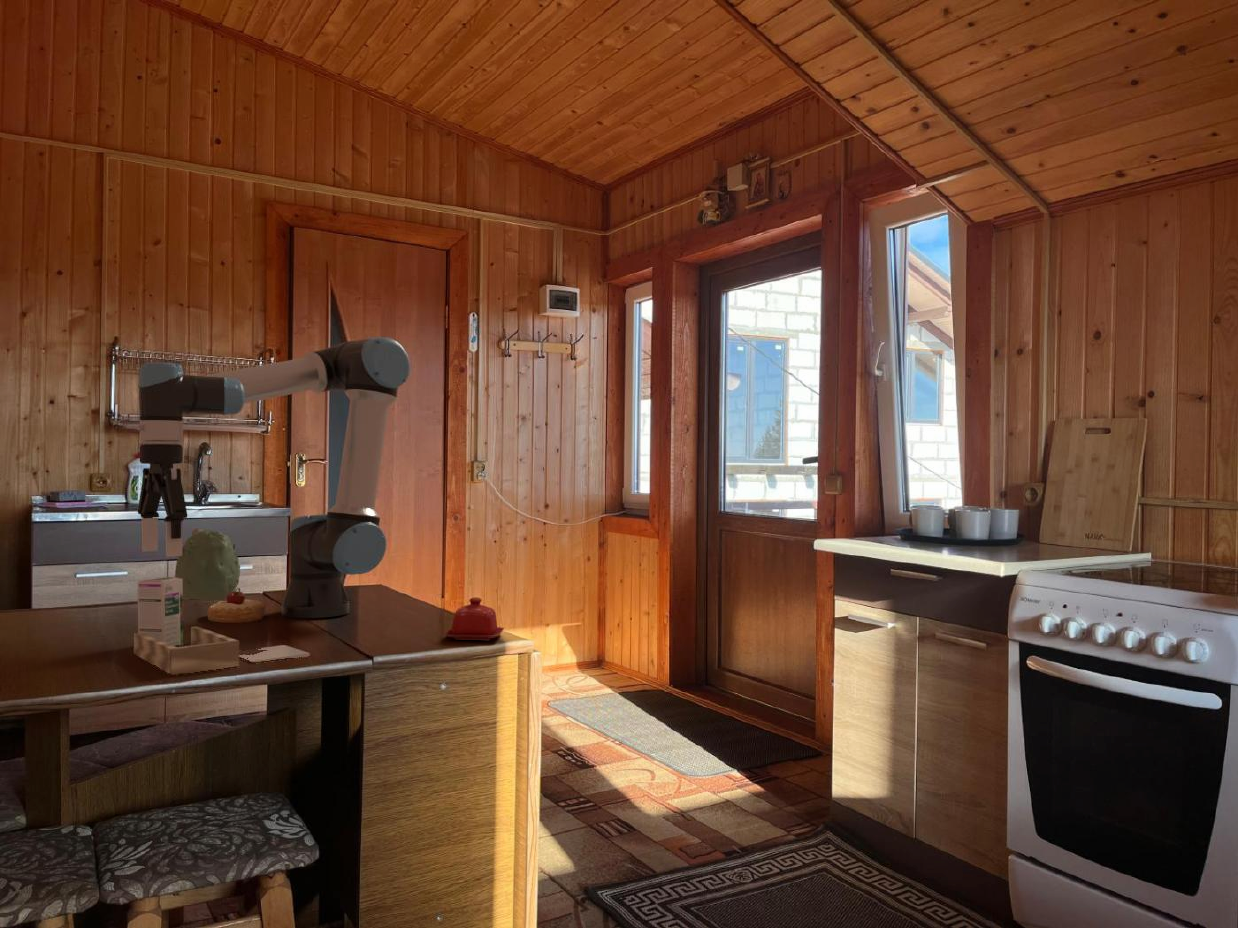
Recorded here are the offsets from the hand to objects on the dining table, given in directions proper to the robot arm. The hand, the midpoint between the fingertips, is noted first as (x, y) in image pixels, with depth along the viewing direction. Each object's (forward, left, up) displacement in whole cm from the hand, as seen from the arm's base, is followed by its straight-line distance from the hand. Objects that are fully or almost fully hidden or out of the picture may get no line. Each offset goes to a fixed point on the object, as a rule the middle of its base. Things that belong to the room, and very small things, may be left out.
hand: (161, 553), depth 181 cm
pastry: (-21, +23, -20) cm, 36 cm away
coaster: (+17, +14, -19) cm, 29 cm away
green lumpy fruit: (-53, +28, -19) cm, 63 cm away
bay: (+13, 0, -19) cm, 23 cm away
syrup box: (0, 0, -19) cm, 19 cm away
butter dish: (+25, +56, -20) cm, 64 cm away
